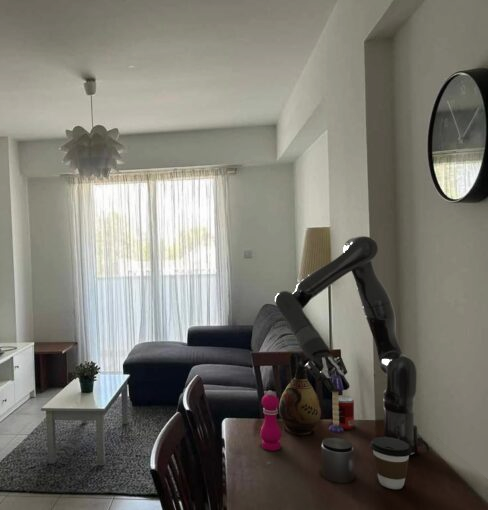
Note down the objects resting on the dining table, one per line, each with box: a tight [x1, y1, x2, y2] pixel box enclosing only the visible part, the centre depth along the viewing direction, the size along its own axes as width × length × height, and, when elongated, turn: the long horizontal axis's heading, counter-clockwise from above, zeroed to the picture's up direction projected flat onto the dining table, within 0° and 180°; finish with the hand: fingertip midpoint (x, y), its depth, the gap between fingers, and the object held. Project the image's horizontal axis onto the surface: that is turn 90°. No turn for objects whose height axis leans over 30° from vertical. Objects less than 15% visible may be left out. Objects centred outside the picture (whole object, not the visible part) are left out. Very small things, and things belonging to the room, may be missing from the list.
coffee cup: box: [369, 436, 412, 490], centre depth 136 cm, size 11×11×12 cm
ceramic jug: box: [278, 350, 322, 436], centre depth 179 cm, size 17×15×30 cm
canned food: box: [332, 394, 355, 431], centre depth 182 cm, size 8×8×11 cm
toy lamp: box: [328, 374, 345, 434], centre depth 142 cm, size 5×5×17 cm
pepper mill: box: [259, 389, 282, 451], centre depth 164 cm, size 7×7×20 cm
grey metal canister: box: [321, 437, 355, 484], centre depth 142 cm, size 9×9×10 cm
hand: (340, 389), depth 140 cm, fingers closed on toy lamp, 4 cm apart
